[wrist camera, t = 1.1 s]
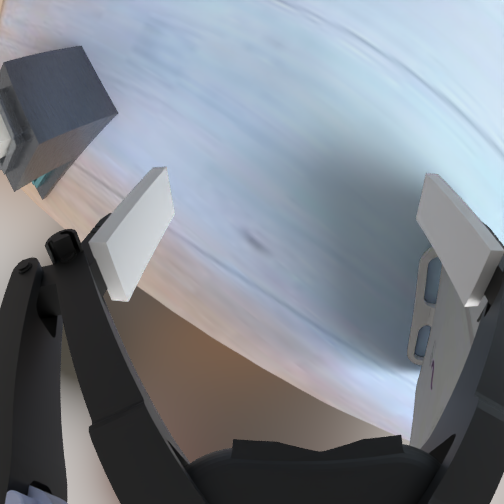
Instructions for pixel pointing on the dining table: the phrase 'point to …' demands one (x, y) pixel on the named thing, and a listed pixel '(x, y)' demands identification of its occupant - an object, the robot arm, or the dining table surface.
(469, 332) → the network device
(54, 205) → the dining table surface
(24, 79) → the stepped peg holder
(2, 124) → the plug
